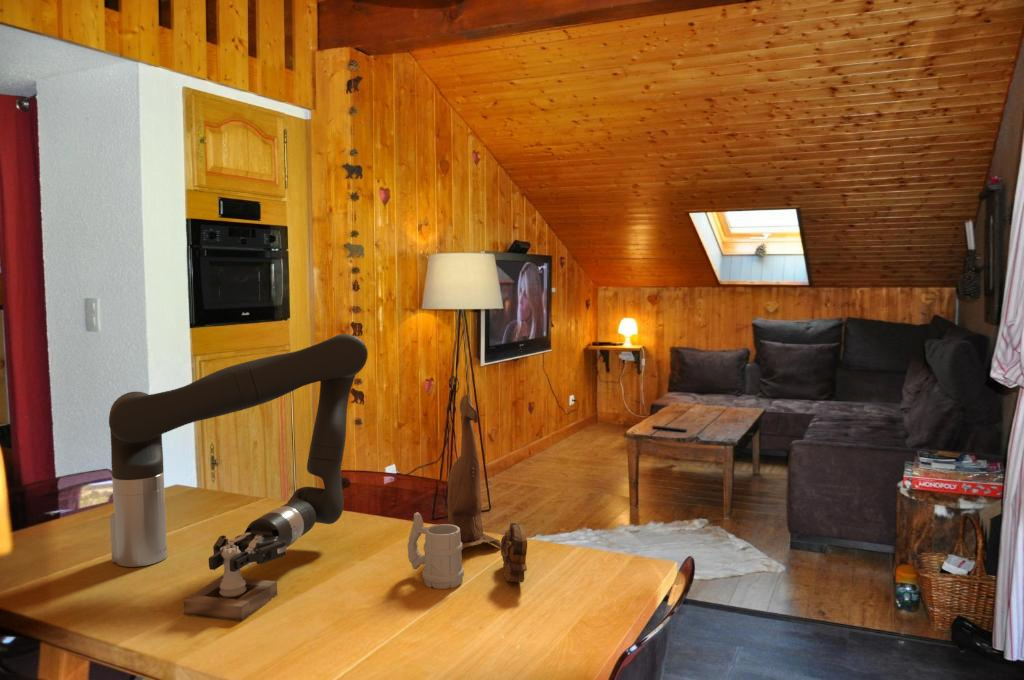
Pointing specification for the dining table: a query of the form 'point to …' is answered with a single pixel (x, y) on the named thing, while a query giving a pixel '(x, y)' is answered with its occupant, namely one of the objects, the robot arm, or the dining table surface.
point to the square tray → (229, 600)
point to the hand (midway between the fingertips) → (221, 565)
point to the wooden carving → (514, 553)
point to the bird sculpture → (467, 484)
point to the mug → (437, 553)
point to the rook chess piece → (231, 575)
